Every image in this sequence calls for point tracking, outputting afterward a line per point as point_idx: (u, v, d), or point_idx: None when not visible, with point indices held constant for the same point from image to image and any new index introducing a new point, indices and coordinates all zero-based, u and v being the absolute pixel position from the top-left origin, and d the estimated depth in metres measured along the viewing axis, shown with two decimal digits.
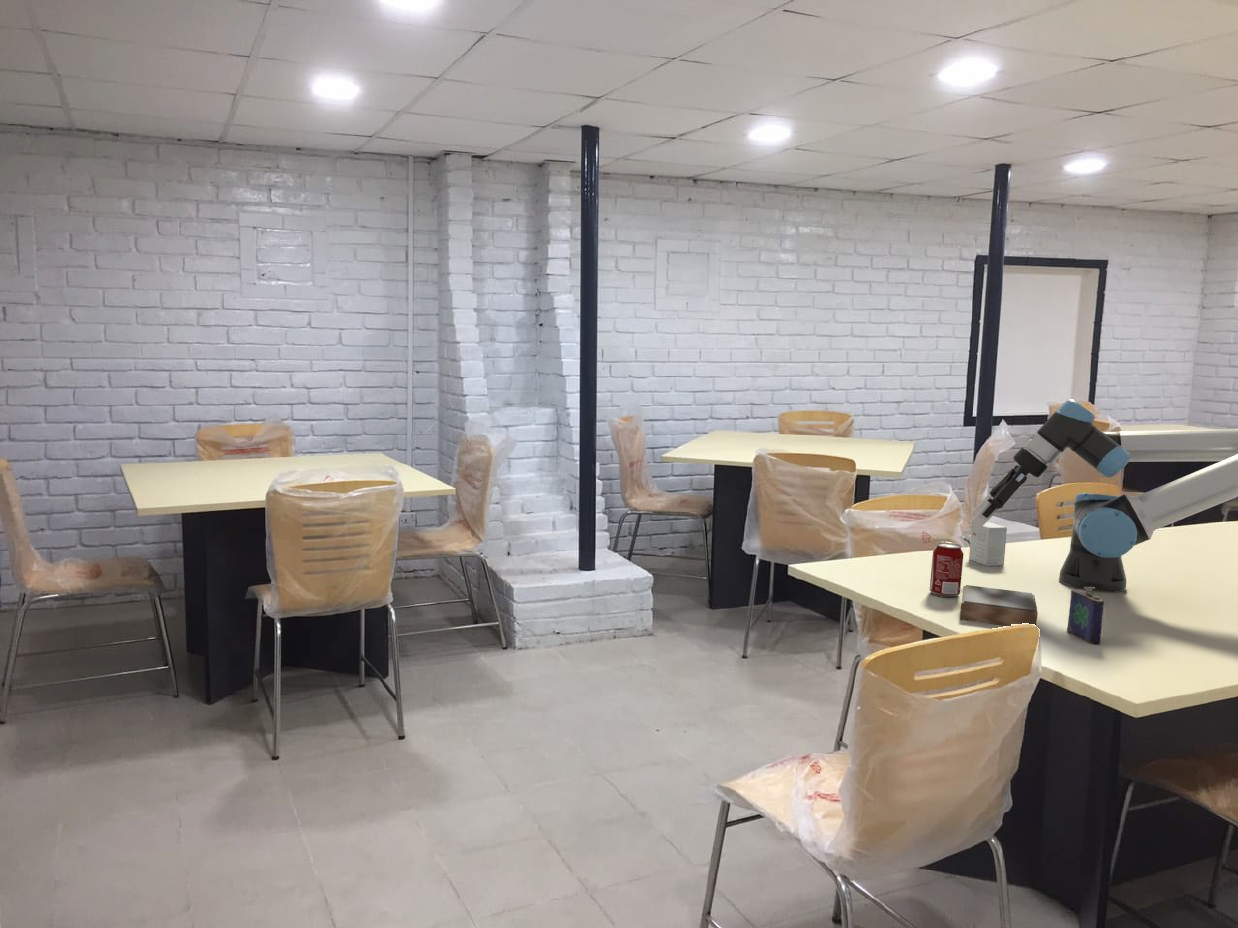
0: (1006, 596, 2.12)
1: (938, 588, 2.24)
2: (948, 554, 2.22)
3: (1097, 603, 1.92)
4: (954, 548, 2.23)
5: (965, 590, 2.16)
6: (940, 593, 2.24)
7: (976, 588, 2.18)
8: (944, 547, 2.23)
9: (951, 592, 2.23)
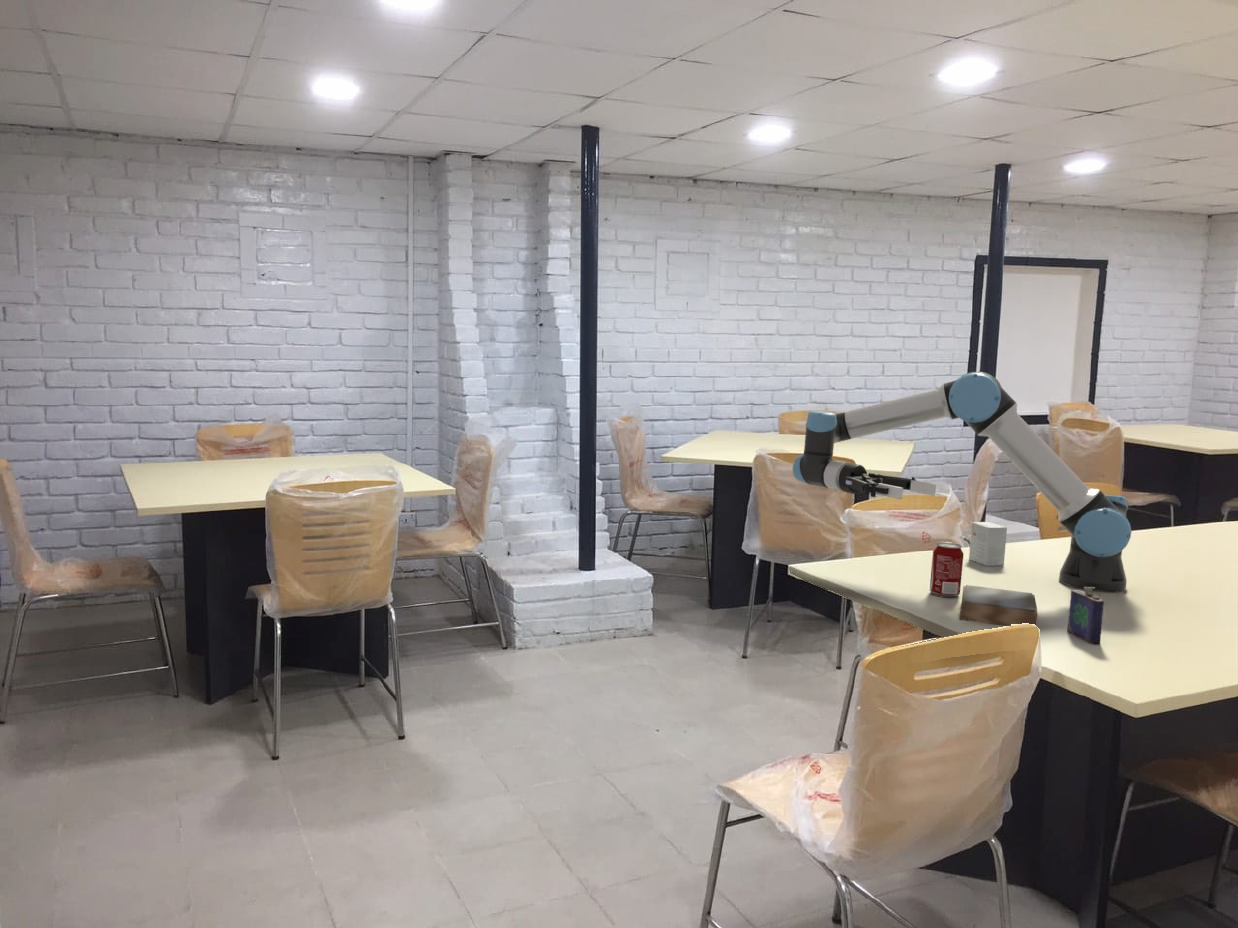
0: (1006, 596, 2.12)
1: (938, 588, 2.24)
2: (948, 554, 2.22)
3: (1097, 603, 1.92)
4: (954, 548, 2.23)
5: (965, 590, 2.16)
6: (940, 593, 2.24)
7: (976, 588, 2.18)
8: (944, 547, 2.23)
9: (951, 592, 2.23)
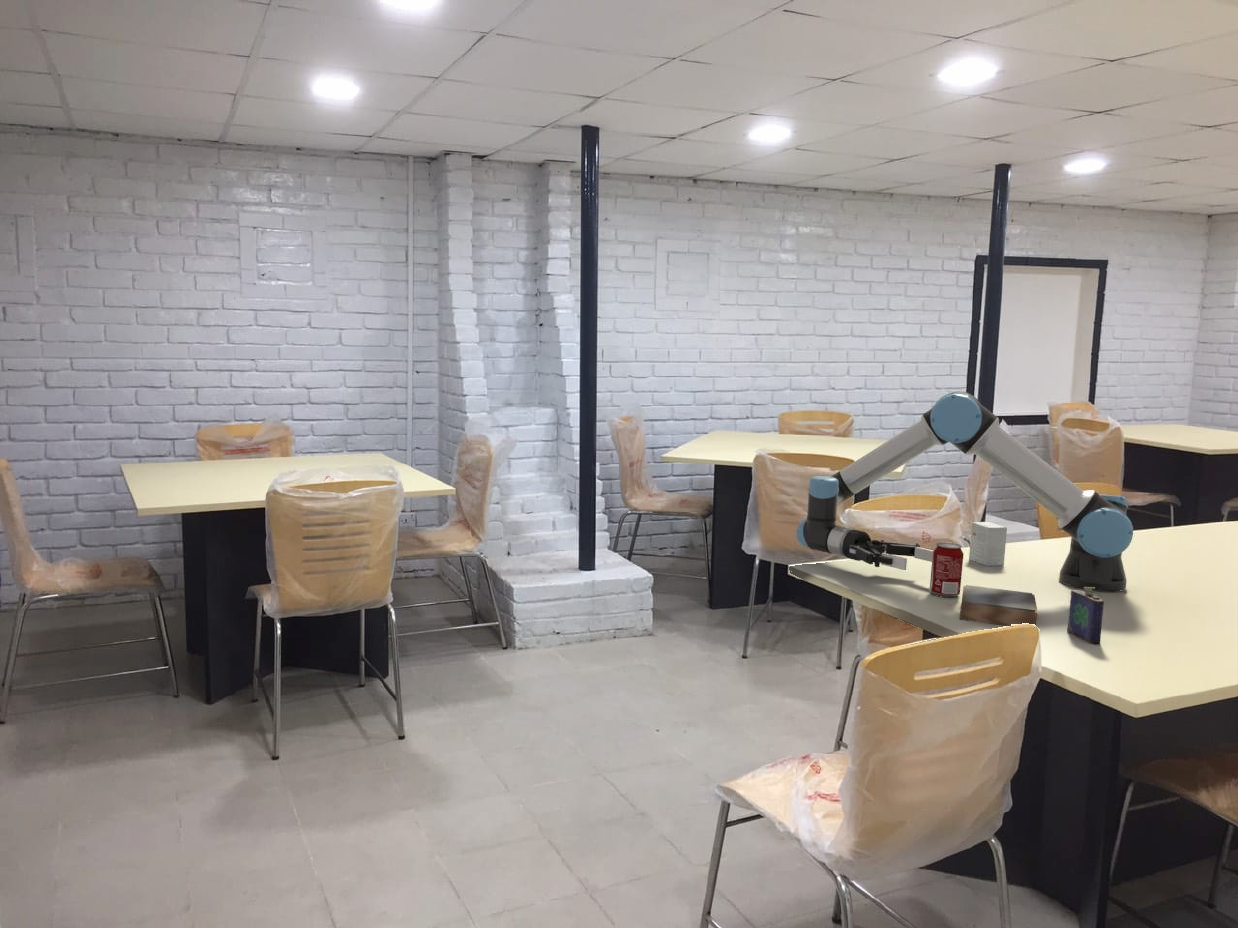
0: (1006, 596, 2.12)
1: (938, 588, 2.24)
2: (948, 554, 2.22)
3: (1097, 604, 1.92)
4: (954, 548, 2.23)
5: (965, 590, 2.16)
6: (940, 593, 2.24)
7: (976, 588, 2.18)
8: (944, 547, 2.23)
9: (951, 592, 2.23)
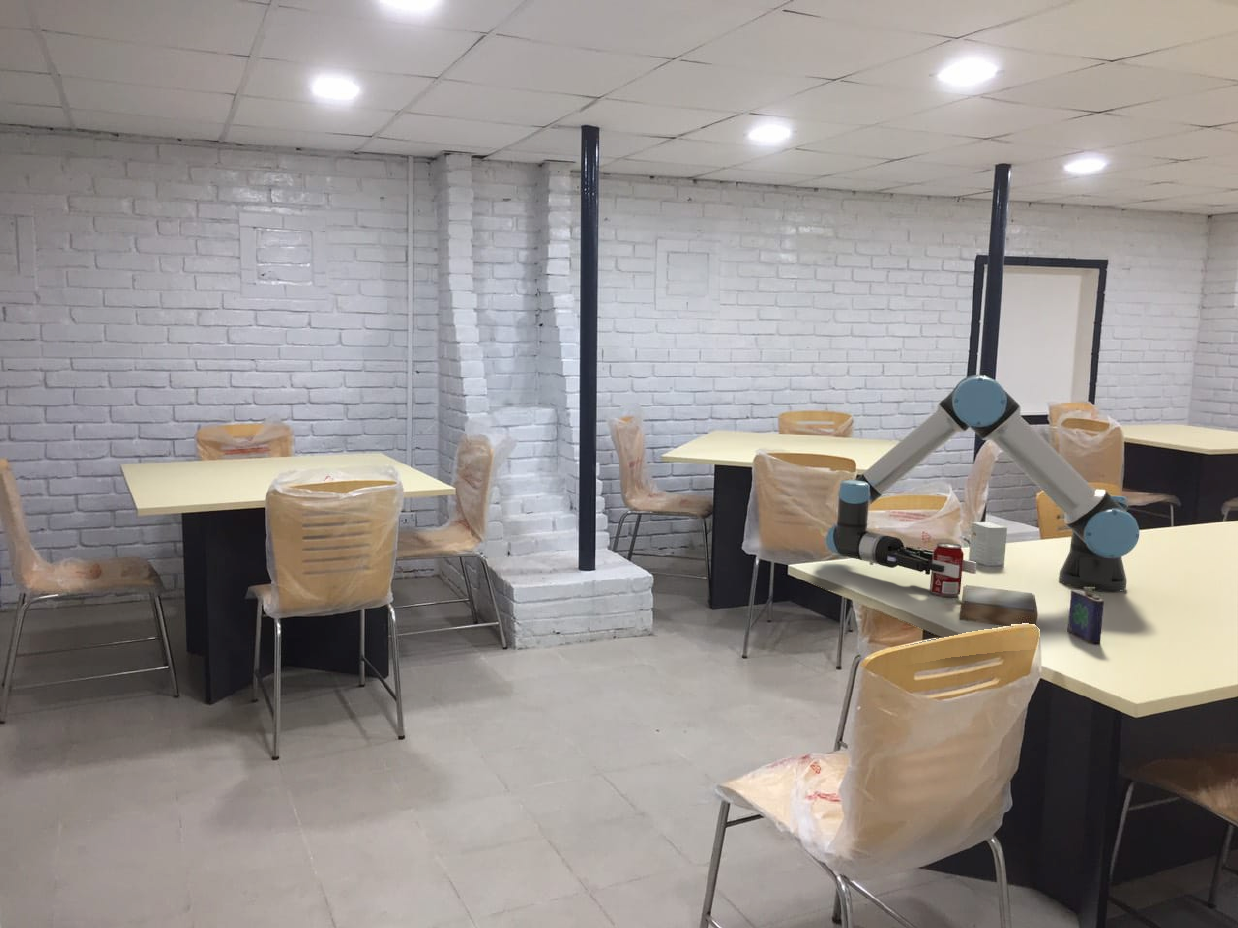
0: (1006, 596, 2.12)
1: (938, 588, 2.24)
2: (948, 554, 2.22)
3: (1097, 603, 1.92)
4: (954, 548, 2.23)
5: (965, 590, 2.16)
6: (940, 593, 2.24)
7: (976, 588, 2.18)
8: (944, 547, 2.23)
9: (951, 592, 2.23)
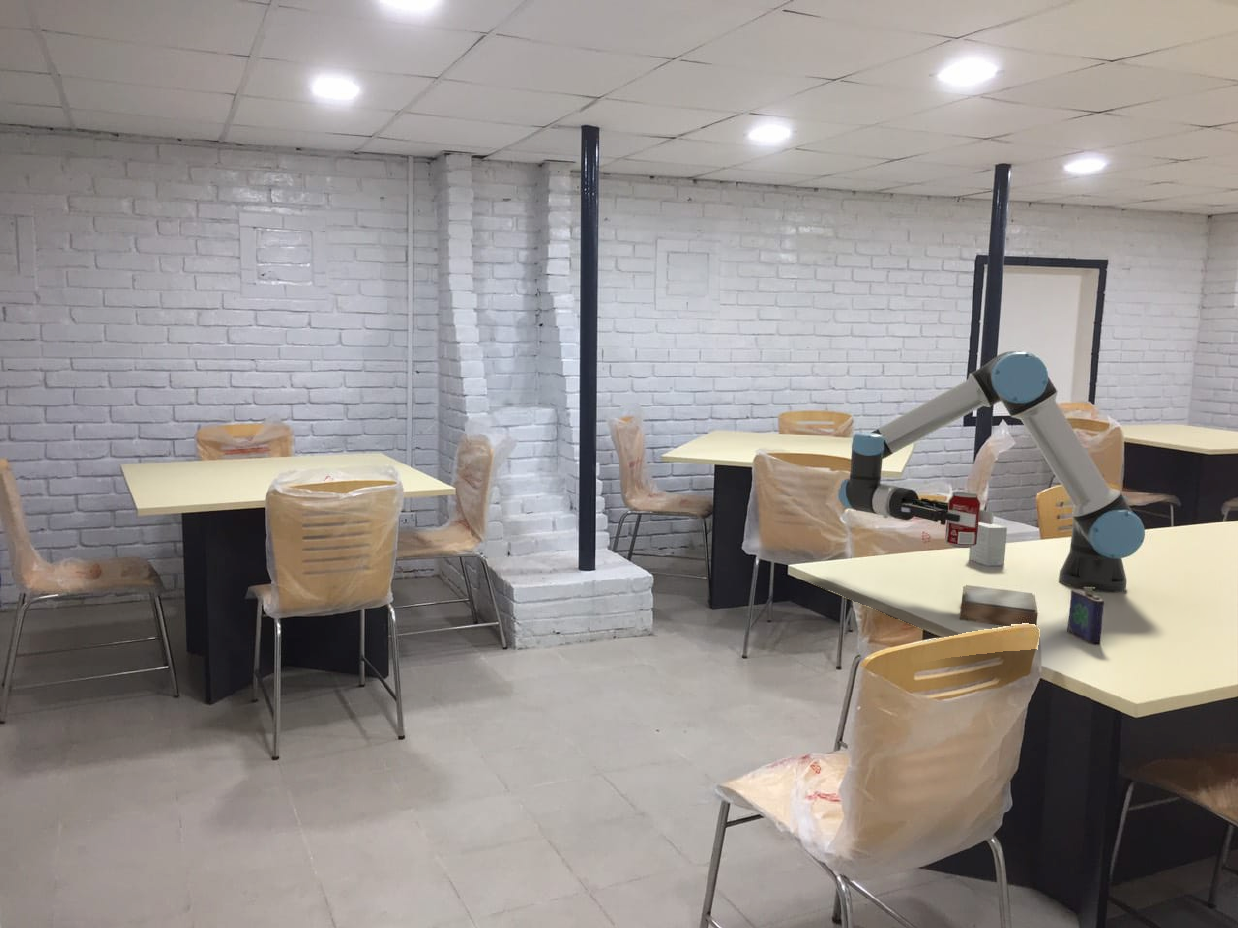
0: (1006, 596, 2.12)
1: (953, 538, 2.18)
2: (964, 503, 2.16)
3: (1097, 604, 1.92)
4: (970, 497, 2.17)
5: (965, 590, 2.16)
6: (956, 543, 2.18)
7: (976, 588, 2.18)
8: (960, 496, 2.17)
9: (967, 542, 2.17)
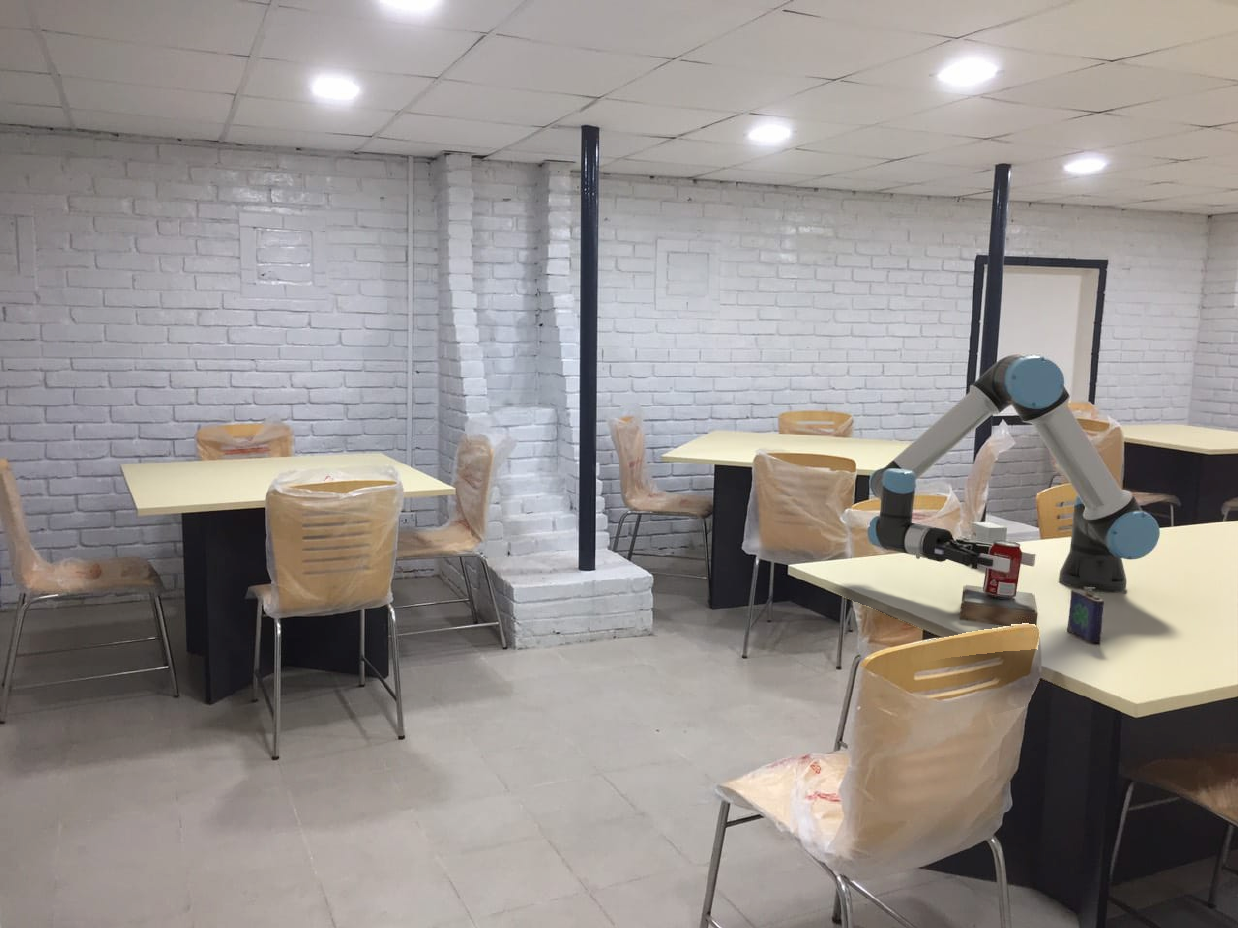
0: None
1: (993, 588, 2.09)
2: (1007, 552, 2.07)
3: (1097, 604, 1.92)
4: (1013, 546, 2.07)
5: (965, 590, 2.16)
6: (995, 594, 2.08)
7: (976, 588, 2.18)
8: (1002, 545, 2.08)
9: (1007, 593, 2.08)
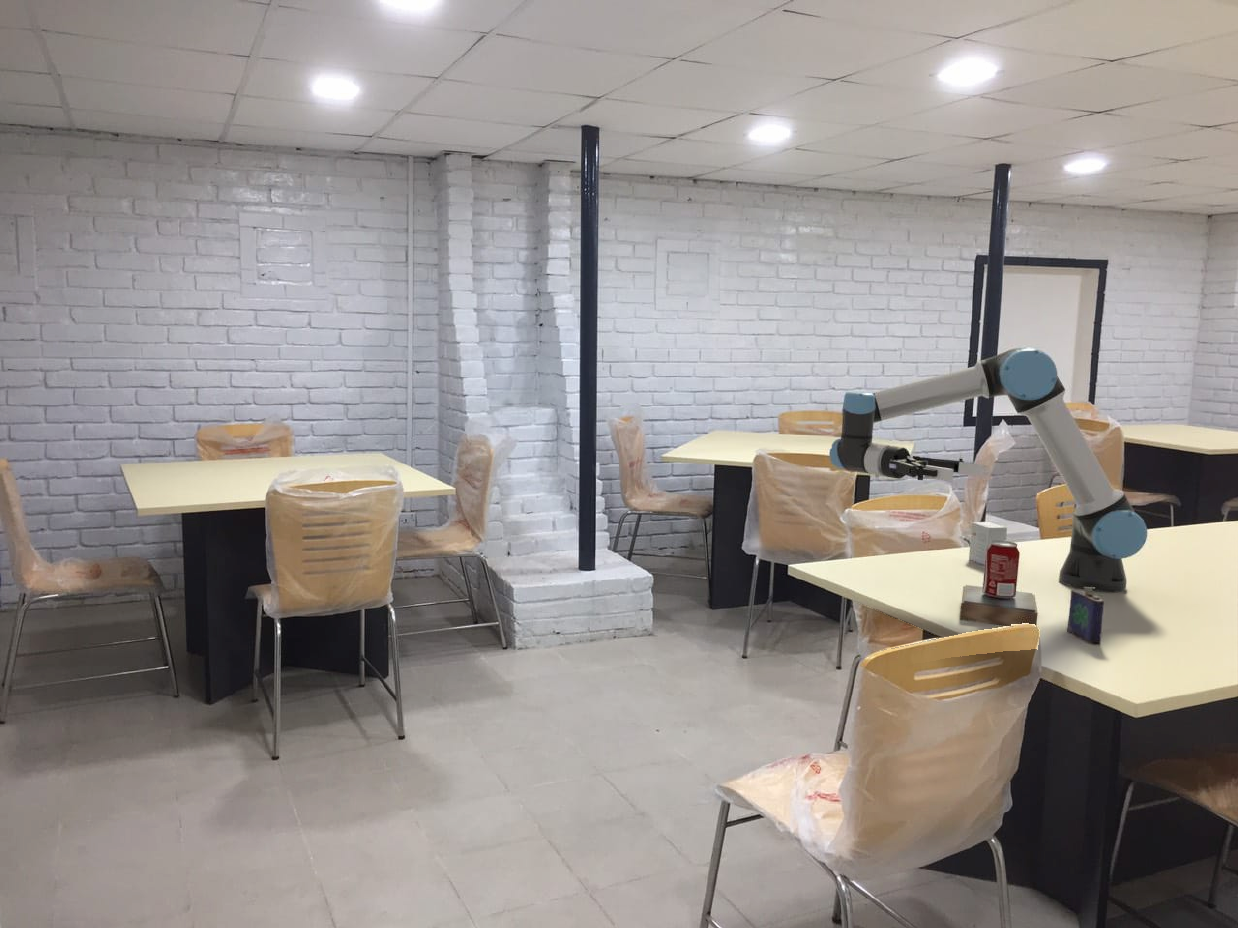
0: None
1: (992, 590, 2.09)
2: (1004, 553, 2.07)
3: (1097, 604, 1.92)
4: (1010, 547, 2.07)
5: (965, 590, 2.16)
6: (995, 595, 2.08)
7: (976, 588, 2.18)
8: (999, 546, 2.08)
9: (1007, 594, 2.08)
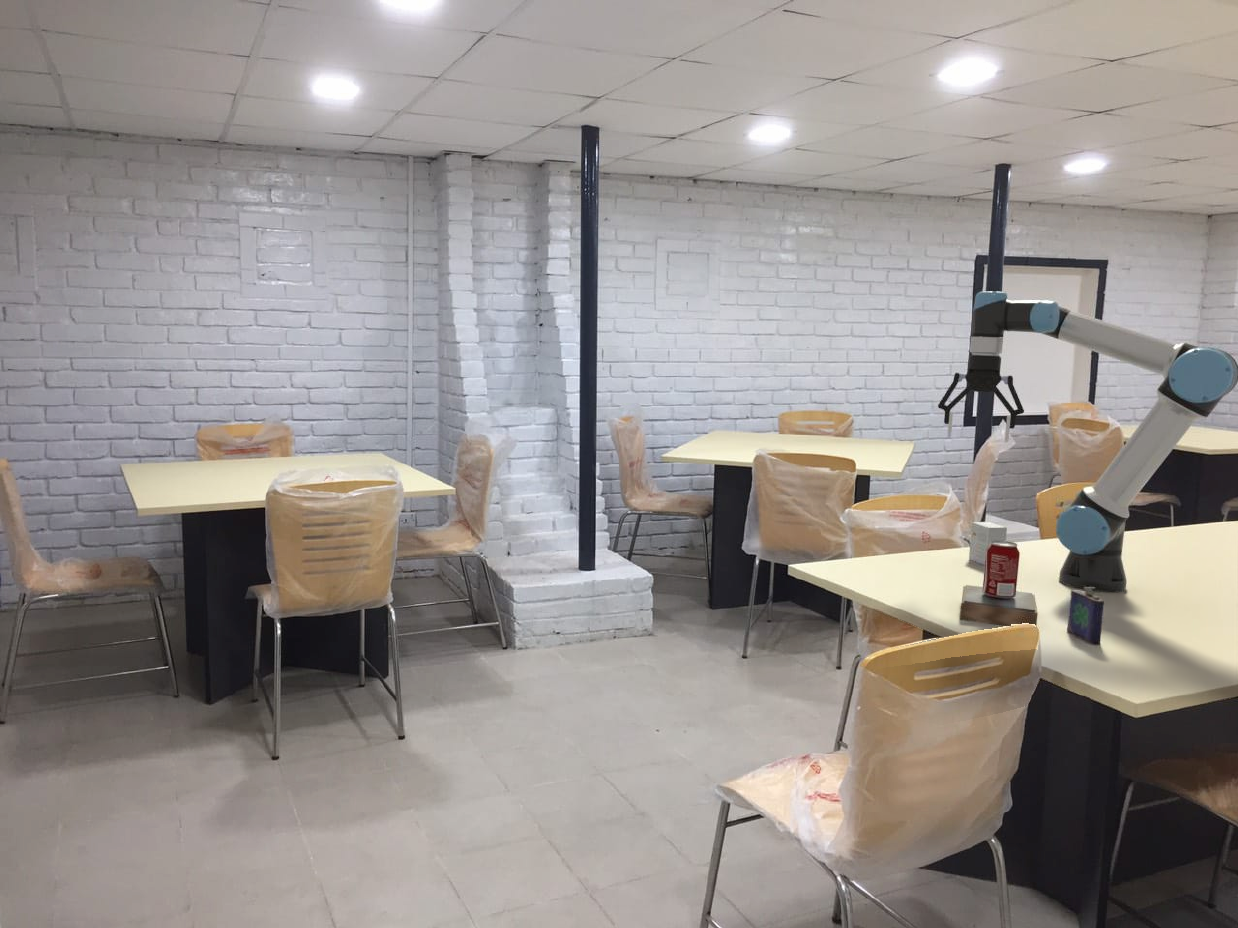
0: None
1: (992, 590, 2.09)
2: (1004, 553, 2.07)
3: (1097, 603, 1.92)
4: (1010, 547, 2.07)
5: (965, 590, 2.16)
6: (995, 595, 2.08)
7: (976, 588, 2.18)
8: (999, 546, 2.08)
9: (1007, 594, 2.08)
